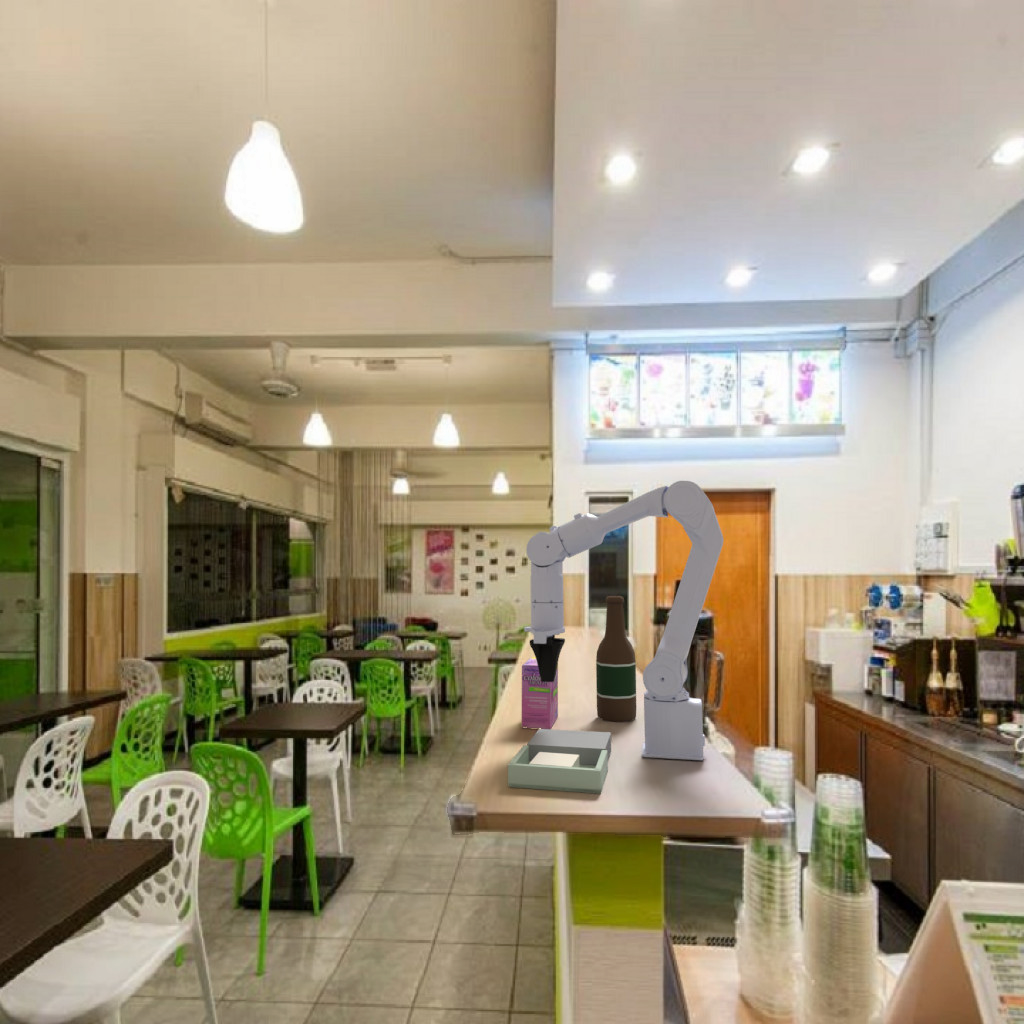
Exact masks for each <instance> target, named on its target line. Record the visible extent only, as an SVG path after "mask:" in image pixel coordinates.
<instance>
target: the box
mask: <svg viewBox="0 0 1024 1024" xmlns="http://www.w3.org/2000/svg"><path fill="white" fill-rule="evenodd" d="M558 683H559V663H558V664H557V670H556V676H555V680H554V681H553V682H541V678H540V674H539V669H538V664H537V660H536V657H535V656H531V657H530V658H528V659H527V660H526V662H524V663H523V664H522V665H521V727H520V728H522V727H527V728H541V729H552V728H553V725H554V724H555V723H556V720H557V719H558V717H559V697H558V696H559V691H558V690H559V689H558V687H559V686H558V685H559V684H558Z"/></svg>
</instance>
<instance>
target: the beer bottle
mask: <svg viewBox="0 0 1024 1024" xmlns="http://www.w3.org/2000/svg"><path fill="white" fill-rule="evenodd" d="M605 602H606V612H605V613H606V615H605V617H606V618H605V633H604V637H603V638H602V640H601V641H600V643H599V645H598V648H597V650H596V657H595V658H596V659H595V663H596V664H595V665H596V666H595V670H596V671H595V672H596V673H595V674H596V714H597V717H598V718H599V719H600V720H602V721H604V722H605V721H606V722H613V723H623V722H624V723H625V722H626V723H628V722H632V721H634V720H635V719H636V718H637V671H636V670H637V669H636V668H637V667H636V666H637V665H636V654H635V650H634V646H633V645H632V643H631V641H630V640H629V639H628V637H627V634H626V633H627V632H626V627H625V624H626V623H625V614H624V612H625V611H624V603H625V599H624V597H623V596H621V595H609V596H606V598H605Z"/></svg>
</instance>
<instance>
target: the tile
mask: <svg viewBox="0 0 1024 1024" xmlns="http://www.w3.org/2000/svg"><path fill="white" fill-rule="evenodd" d="M529 764H531V765H547V766H562V767H578V768H580V761H579V755H575V754H561V753H548V752H539V753H538V754H537V755H536V756H535V757H534V759H533V760H532V761H531V762H530V763H529Z"/></svg>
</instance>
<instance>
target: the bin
mask: <svg viewBox="0 0 1024 1024" xmlns="http://www.w3.org/2000/svg"><path fill="white" fill-rule="evenodd" d="M529 763H530V762H529V746H527V744H525V745H522V747H520V749H519V750H518V752H517V753H516V754H515V755H514V757H513V758H512V759H511V761H509V763H508V764H507V787H508V788H518V789H519V788H520V789H534V790H545V791H560V792H561V791H562V792H570V793H571V792H573V793H587V794H598V795H599V794H602V791H603V788H604V784H605V781H606V777H607V774H608V772H609V766H608V763H609V760H608V752H607V750H602V751H601V754H600V757H599V760H598V762H597V765H596V766H591V765H580V768H578V767H562V766H547V765H531V764H529Z"/></svg>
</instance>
